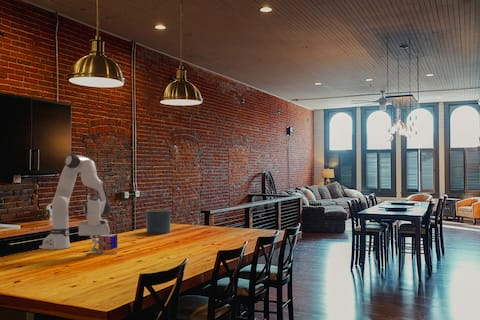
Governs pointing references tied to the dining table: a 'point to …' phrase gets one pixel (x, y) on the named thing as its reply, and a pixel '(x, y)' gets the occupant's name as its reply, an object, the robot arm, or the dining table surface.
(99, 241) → the stool
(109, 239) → the puzzle cube
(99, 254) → the grey flat plate
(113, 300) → the dining table surface
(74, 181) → the robot arm
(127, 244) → the dining table surface
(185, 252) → the dining table surface
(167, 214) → the planter
